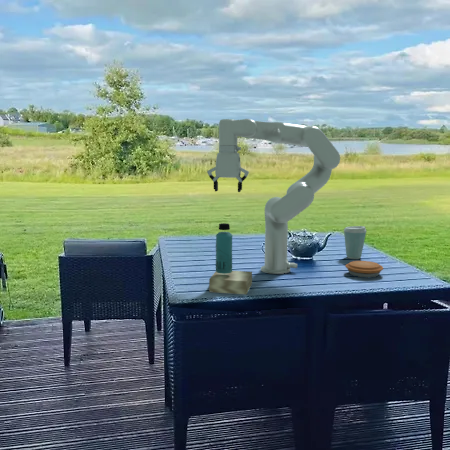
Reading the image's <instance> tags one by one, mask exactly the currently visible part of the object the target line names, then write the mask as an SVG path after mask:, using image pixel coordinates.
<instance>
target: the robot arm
mask: <svg viewBox="0 0 450 450" xmlns="http://www.w3.org/2000/svg"><path fill="white" fill-rule="evenodd" d="M238 137H242V138H249V139H256V140H262V141H268V142H271V143H276V144H284V145H290V146H298V147H305V148H308V149H309V150H310V152H311V153H312V154H313V166H312V168H311V170H310V171H309V172H307V173H306V174H305V175H304V176H302V177H301V178H300V179H298V180H297V181H295V182H294V183H292V184H291V185H289V187H288V188H287V189H286V194H285V195H283V196H281V197H279V196H274V197H271V198H269V199H268V200H267V201H266V202H265V205H264V222H265V225H264V227H265V228H264V231H265V232H264V234H265V235H264V265H262V266H261V267H260V271H261V272H262V273H265V274H271V275H284V273H285V274H288V273H290V272H291V269H298V263H295V262H290V261H289V259H288V235H289V233H288V231H289V227H288V222H289V221H290V220H293V218H296V216H297V215H299V214H300V213H302V212H303V211H304V210H306V209H307V208H308V207H309V206H310V205H312V203H313V201H314V198H315V193H317V192H318V191H319V190H320V189H322V188H323V187H324V186H325V185H326V184H328V182H329V180H330V178H331V176H332V173H333V169H335V168H337V167H338V166H339V164H340V162H341V155H340V152H339V151H338V149H337V148H336V147H335V146H334V145H333V143H332V142H331V141H330V139H329V138H328V137H327V135H326V134H325V133H324V131H322V130H321V128H319V127H317V126H310V125H309V126H308V125H302V124H296V123H288V122H280V121H279V122H278V121H273V122H269V121H259V120H253V119H251V118H244V119H233V118H230V119H229V118H223V119H220V120H219V122H218V152H217V154H216V158H215V159H216V160H215V166H214V167H213V168H210V169H208V170H206V171H207V172H206V173H207V174H208V176H209V177H208V178H209V179H210V180H211V181H212V182H213V190H214V192H218V191H219V183H218V182H219V181H218V180H219V178H227V179H229V178H230V179H232V178H235V179H237V180H238V182H237V192H238V193H240V192H241V191H242V190H243V182H244V181H245V180H246V179H247V177H248V176H249V173H250V171H248V170H246V169H245V168H243V167H242V166H241V164H242V163H241V156H240V151H241V149H242V148H241V146H238ZM238 151H239V152H238ZM213 172H215V173H214V174H215V176H214V175H213ZM242 173H244V175H243V176H242V177H241V174H242Z"/></svg>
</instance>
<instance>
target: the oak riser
mask: <svg viewBox="0 0 450 450" xmlns="http://www.w3.org/2000/svg"><path fill="white" fill-rule="evenodd" d="M208 281H209V284H208V285H209V286H208V289H209V290H208V291H209V293H215V294H216V293H219V294H233V295H247V294H248V292H249V291H250V288H251V287H252V285H253V271H245V270H244V271H243V270H232V272H231V273H227V274H221V273H217V272H216V271H214V273H213V274H212V275H211V277H210V278H209V280H208Z"/></svg>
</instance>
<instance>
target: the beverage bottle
mask: <svg viewBox="0 0 450 450" xmlns="http://www.w3.org/2000/svg"><path fill="white" fill-rule="evenodd" d="M230 229H231V227H230V223H225V222H224V223H219V224H218V230H219V232H218V233H216V235H215V272H217V273H221V274H227V273H231V272H232V271H233V234H232V233H231V232H229V230H230Z"/></svg>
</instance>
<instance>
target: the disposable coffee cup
mask: <svg viewBox="0 0 450 450" xmlns="http://www.w3.org/2000/svg"><path fill="white" fill-rule="evenodd" d="M343 234H344V245H345V255H346V257H347V259H351V260H359V259H361V257H362V255H363V250H364V244H365V239H366V235H367V229H366V226H364V225H363V226H362V225H356V226H355V225H353V226H346V227H345V228H343Z"/></svg>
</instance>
